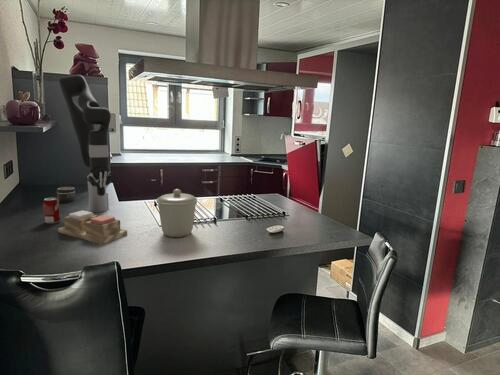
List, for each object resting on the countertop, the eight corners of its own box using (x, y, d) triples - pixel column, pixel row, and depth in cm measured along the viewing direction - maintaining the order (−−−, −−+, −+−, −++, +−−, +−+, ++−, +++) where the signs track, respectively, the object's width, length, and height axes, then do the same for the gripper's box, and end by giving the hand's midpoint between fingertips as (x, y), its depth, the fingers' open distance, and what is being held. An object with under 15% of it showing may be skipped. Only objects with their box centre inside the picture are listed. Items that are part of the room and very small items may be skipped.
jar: (54, 200, 214) (53, 188, 213) (70, 197, 223) (69, 186, 221) (62, 203, 209) (61, 190, 207) (79, 200, 217) (78, 188, 215)
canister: (178, 243, 150) (177, 195, 145) (148, 235, 159) (147, 189, 155) (205, 232, 165) (205, 188, 160) (176, 225, 174) (176, 183, 170)
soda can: (53, 224, 169) (51, 200, 166) (41, 223, 170) (39, 199, 168) (63, 221, 175) (61, 197, 173) (51, 219, 177) (49, 196, 174)
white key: (83, 216, 165) (82, 210, 164) (93, 218, 162) (93, 212, 161) (69, 220, 159) (69, 213, 158) (80, 222, 156) (79, 216, 155)
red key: (104, 221, 159) (103, 214, 158) (115, 223, 156) (114, 217, 155) (90, 225, 153) (90, 218, 152) (102, 227, 150) (101, 221, 149)
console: (85, 224, 171) (84, 210, 169) (127, 234, 158) (126, 219, 157) (58, 232, 159) (57, 217, 157) (101, 244, 146) (100, 228, 145)
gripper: (105, 153, 156) (107, 191, 159) (79, 156, 144) (81, 197, 147) (117, 155, 152) (119, 193, 156) (91, 157, 141) (94, 199, 144)
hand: (101, 195), depth 152 cm, fingers closed
